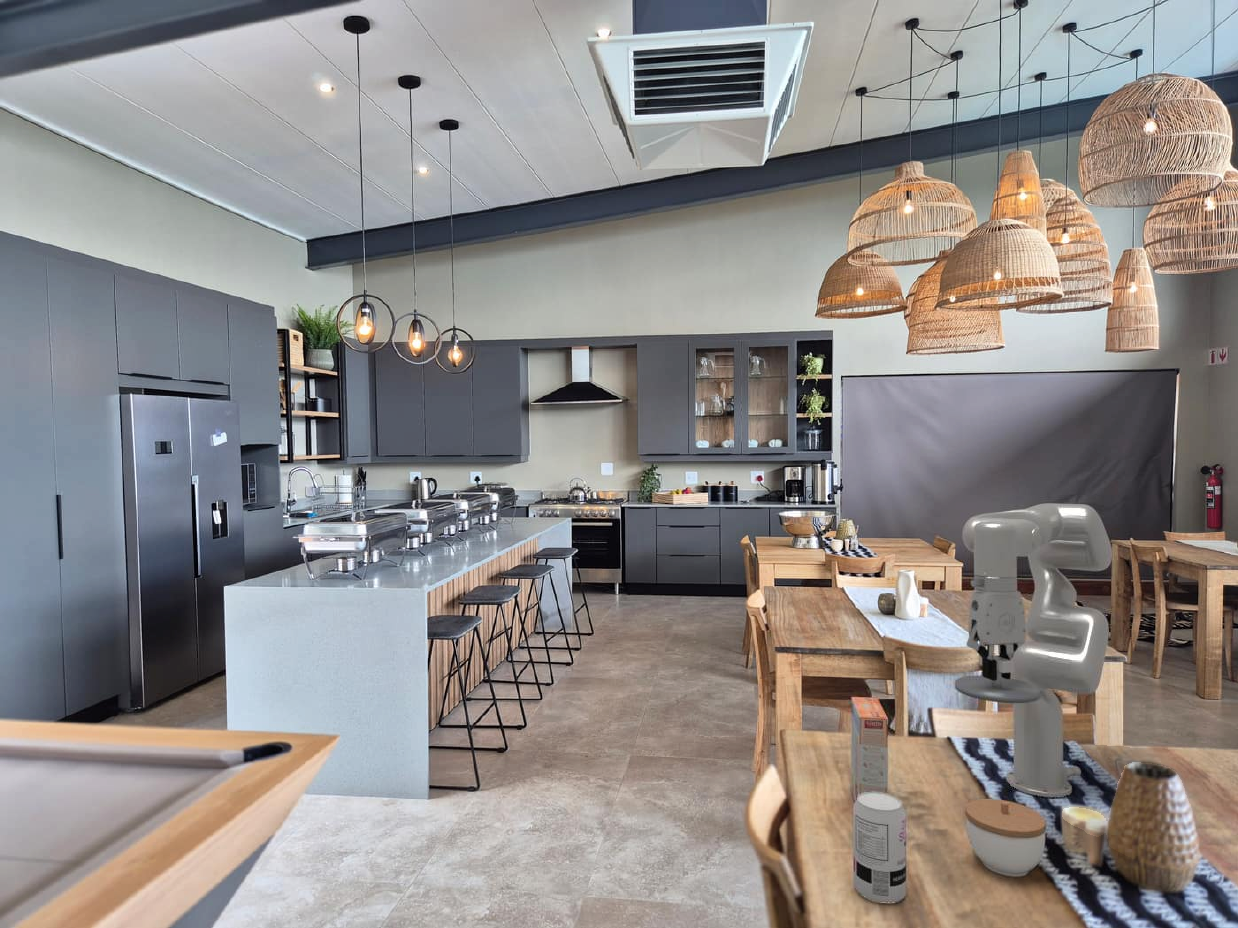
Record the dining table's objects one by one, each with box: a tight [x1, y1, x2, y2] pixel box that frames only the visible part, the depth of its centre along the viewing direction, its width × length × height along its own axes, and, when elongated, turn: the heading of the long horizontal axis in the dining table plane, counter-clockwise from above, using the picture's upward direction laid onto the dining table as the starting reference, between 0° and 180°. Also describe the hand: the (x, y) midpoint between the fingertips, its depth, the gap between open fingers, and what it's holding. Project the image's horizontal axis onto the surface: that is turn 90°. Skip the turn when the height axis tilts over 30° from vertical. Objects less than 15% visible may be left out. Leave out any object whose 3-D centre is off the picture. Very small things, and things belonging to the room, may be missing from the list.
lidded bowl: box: [964, 798, 1047, 878], centre depth 131 cm, size 13×13×11 cm
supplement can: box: [852, 792, 907, 903], centre depth 123 cm, size 8×8×15 cm
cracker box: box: [850, 696, 889, 803], centre depth 154 cm, size 14×6×21 cm, turn 168°
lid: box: [954, 654, 1041, 704], centre depth 147 cm, size 15×15×6 cm
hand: (996, 677), depth 147 cm, fingers closed on lid, 2 cm apart
